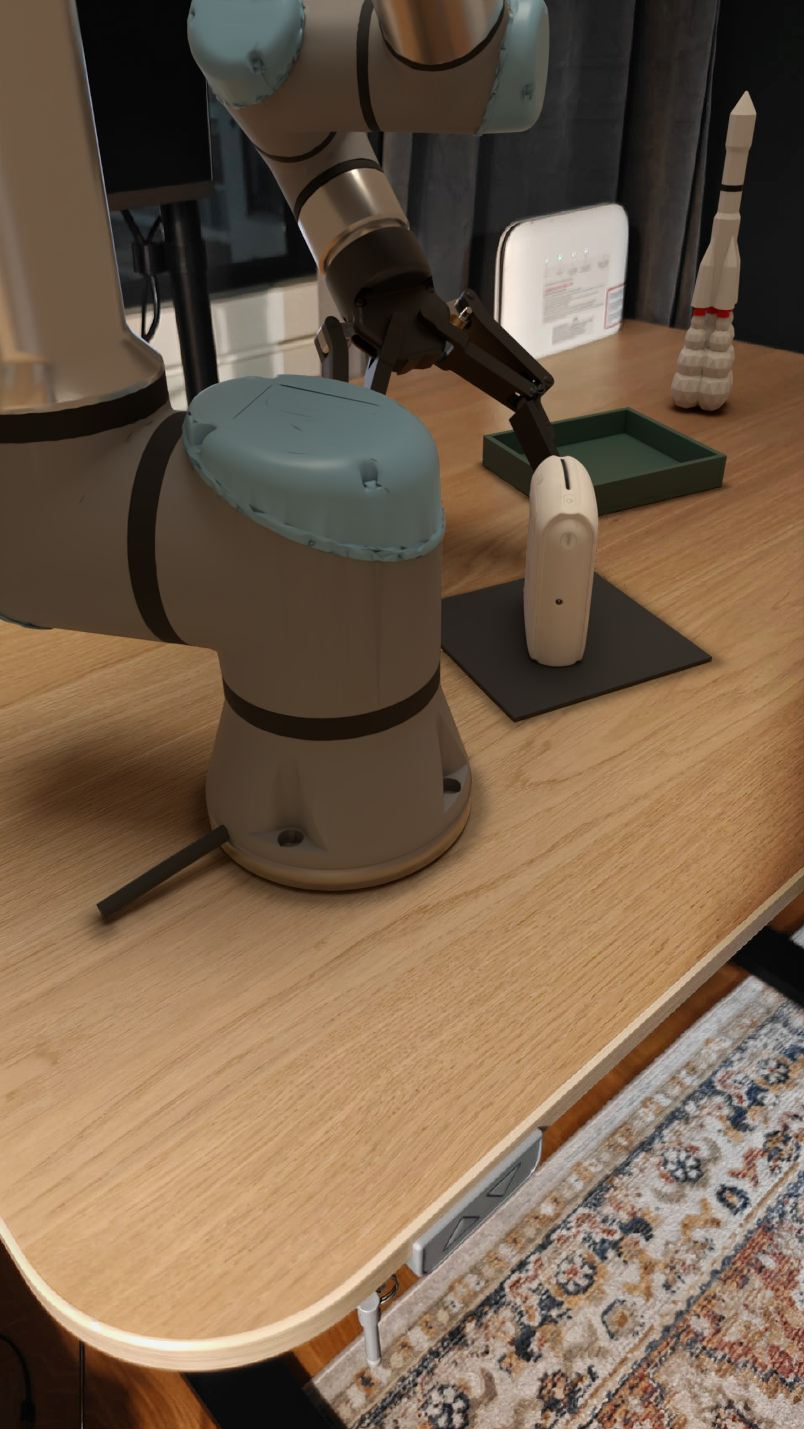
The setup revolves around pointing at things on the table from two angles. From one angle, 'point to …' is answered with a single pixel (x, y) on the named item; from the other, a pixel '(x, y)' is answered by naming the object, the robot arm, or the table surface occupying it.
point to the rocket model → (717, 283)
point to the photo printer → (559, 561)
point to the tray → (617, 458)
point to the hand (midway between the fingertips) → (488, 508)
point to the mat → (615, 657)
